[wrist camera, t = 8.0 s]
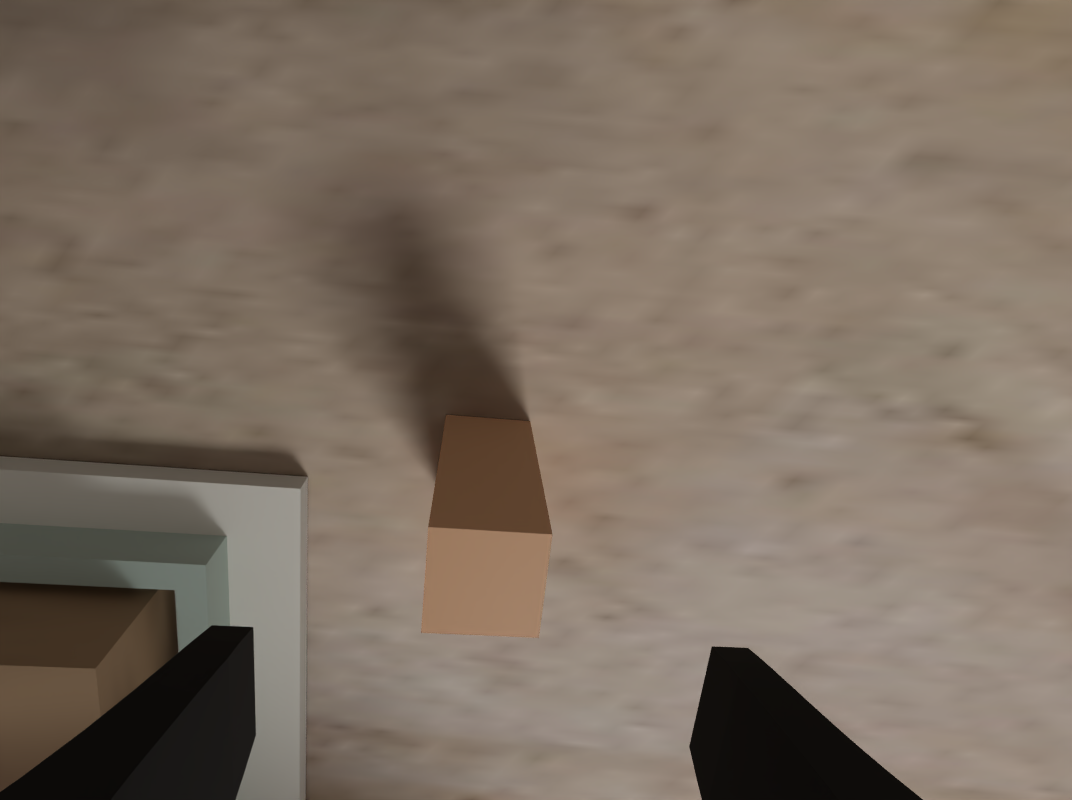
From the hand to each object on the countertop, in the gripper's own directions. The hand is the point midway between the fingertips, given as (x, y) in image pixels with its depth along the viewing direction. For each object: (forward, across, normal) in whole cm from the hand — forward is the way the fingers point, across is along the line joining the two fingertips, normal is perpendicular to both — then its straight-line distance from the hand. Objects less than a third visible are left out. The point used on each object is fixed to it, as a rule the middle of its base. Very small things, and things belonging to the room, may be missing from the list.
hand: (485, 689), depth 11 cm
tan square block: (+9, 0, 0) cm, 9 cm away
